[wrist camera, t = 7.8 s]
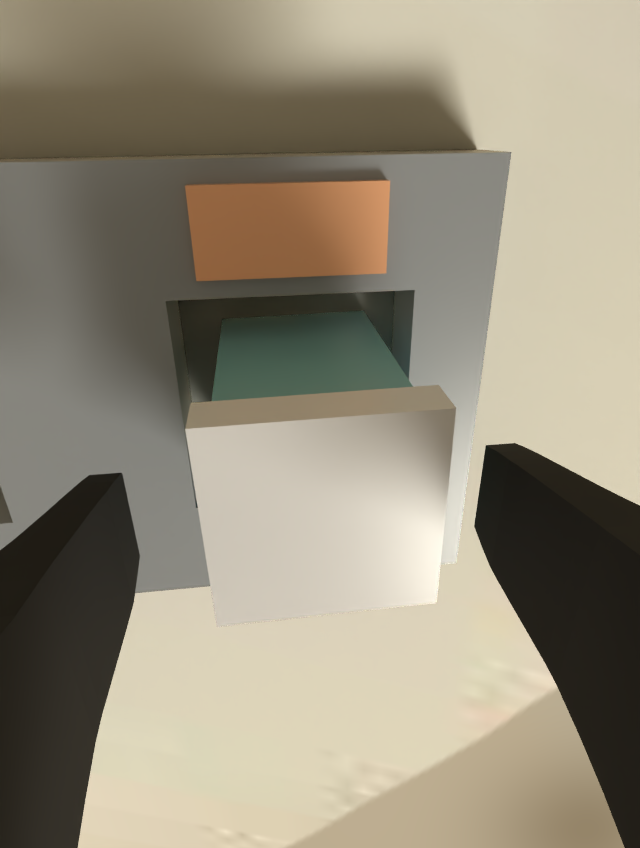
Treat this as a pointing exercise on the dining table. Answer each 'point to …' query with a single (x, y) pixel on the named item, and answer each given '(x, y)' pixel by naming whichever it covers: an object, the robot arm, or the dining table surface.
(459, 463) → the socket plate
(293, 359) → the plug
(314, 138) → the dining table surface
